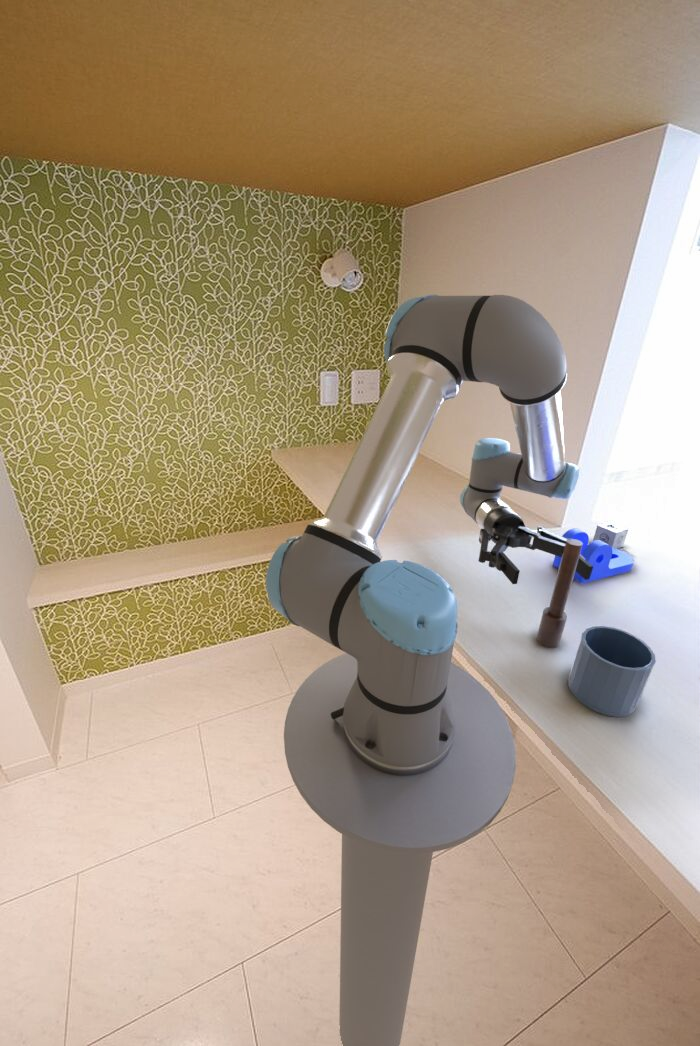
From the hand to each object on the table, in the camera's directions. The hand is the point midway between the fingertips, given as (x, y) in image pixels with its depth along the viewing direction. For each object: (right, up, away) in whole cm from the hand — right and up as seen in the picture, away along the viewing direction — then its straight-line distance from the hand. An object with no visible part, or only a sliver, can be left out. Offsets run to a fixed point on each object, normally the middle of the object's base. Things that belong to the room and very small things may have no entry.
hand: (553, 575), depth 75 cm
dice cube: (+31, +3, +36) cm, 48 cm away
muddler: (0, -12, +2) cm, 12 cm away
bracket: (+22, -1, +26) cm, 34 cm away
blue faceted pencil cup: (+4, -17, -8) cm, 19 cm away
